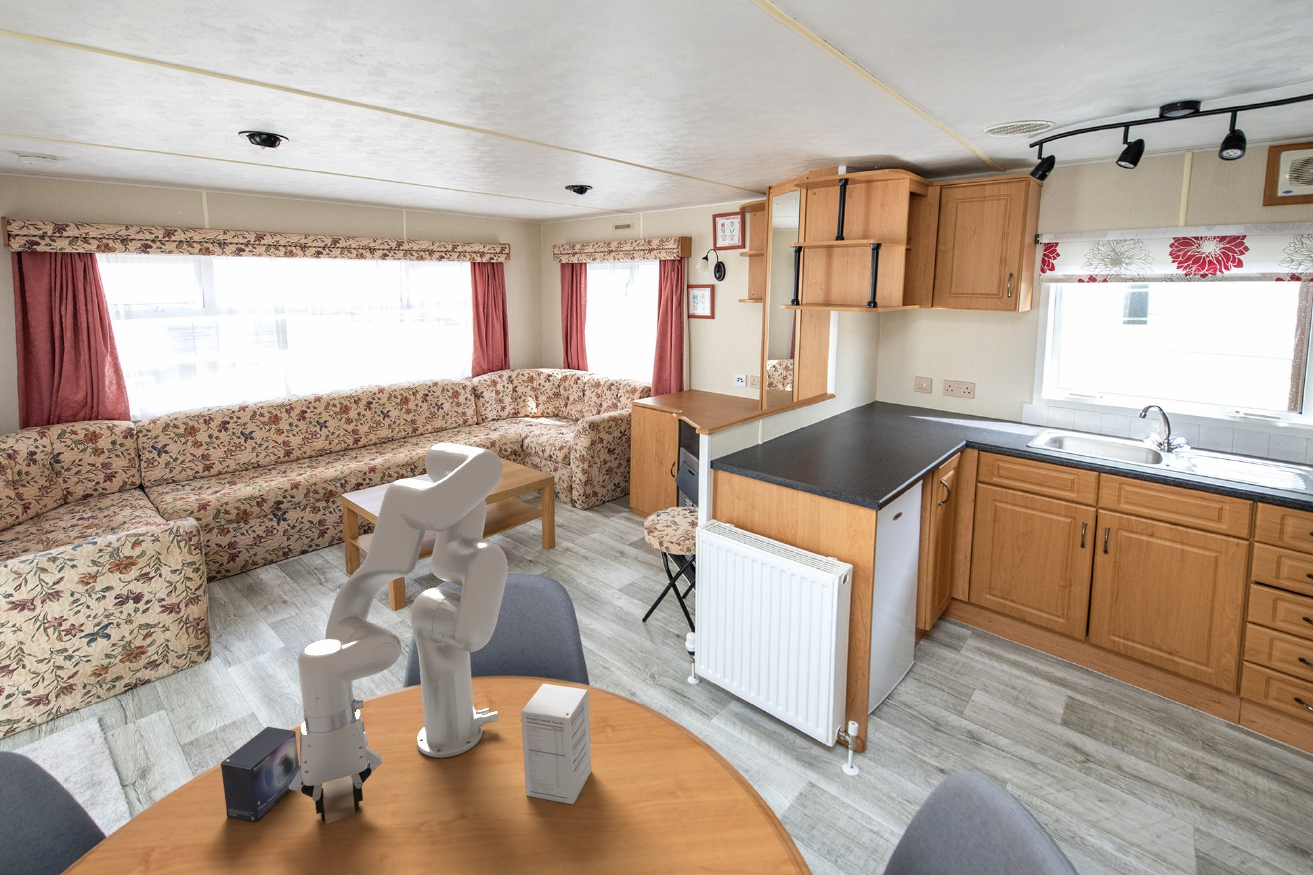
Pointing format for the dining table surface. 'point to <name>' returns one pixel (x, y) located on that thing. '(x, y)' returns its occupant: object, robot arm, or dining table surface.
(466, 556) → the robot arm
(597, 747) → the dining table surface
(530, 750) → the supplement box
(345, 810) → the brown wooden cube
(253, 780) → the small box
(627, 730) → the dining table surface
